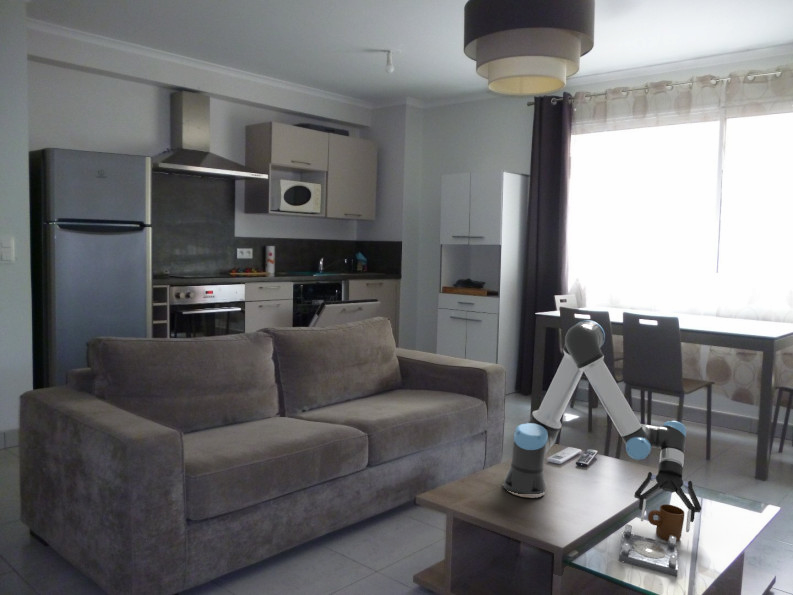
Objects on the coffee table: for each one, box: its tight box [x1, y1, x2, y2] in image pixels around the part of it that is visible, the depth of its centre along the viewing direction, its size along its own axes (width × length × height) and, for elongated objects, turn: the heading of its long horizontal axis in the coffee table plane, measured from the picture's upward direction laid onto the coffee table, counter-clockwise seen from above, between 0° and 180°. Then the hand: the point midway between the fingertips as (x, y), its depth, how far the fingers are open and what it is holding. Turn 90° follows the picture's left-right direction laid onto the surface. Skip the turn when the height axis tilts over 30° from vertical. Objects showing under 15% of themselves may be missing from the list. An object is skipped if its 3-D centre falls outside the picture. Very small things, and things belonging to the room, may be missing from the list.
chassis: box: [618, 523, 679, 577], centre depth 199 cm, size 16×16×5 cm
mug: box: [647, 504, 685, 542], centre depth 212 cm, size 12×8×9 cm, turn 102°
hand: (664, 525), depth 210 cm, fingers open, 13 cm apart
